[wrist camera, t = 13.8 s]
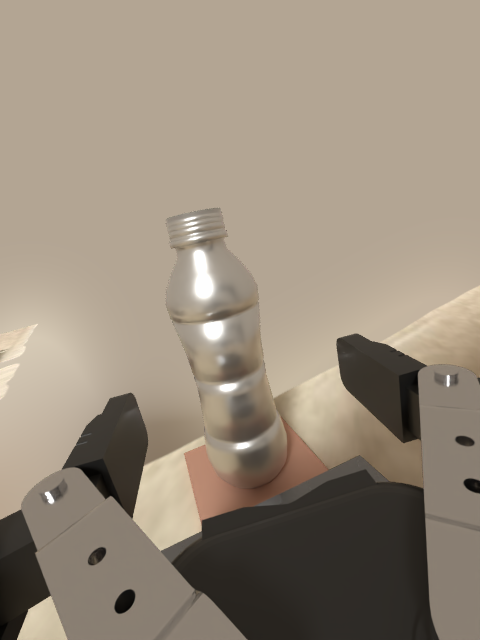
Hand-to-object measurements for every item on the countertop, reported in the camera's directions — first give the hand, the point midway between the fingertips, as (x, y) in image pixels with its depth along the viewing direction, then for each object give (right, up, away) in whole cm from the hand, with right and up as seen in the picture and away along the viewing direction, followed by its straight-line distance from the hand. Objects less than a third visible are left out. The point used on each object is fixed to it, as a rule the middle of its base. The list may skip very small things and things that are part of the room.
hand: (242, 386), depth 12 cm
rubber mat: (+1, -10, +13) cm, 17 cm away
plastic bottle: (+1, -10, +13) cm, 16 cm away
